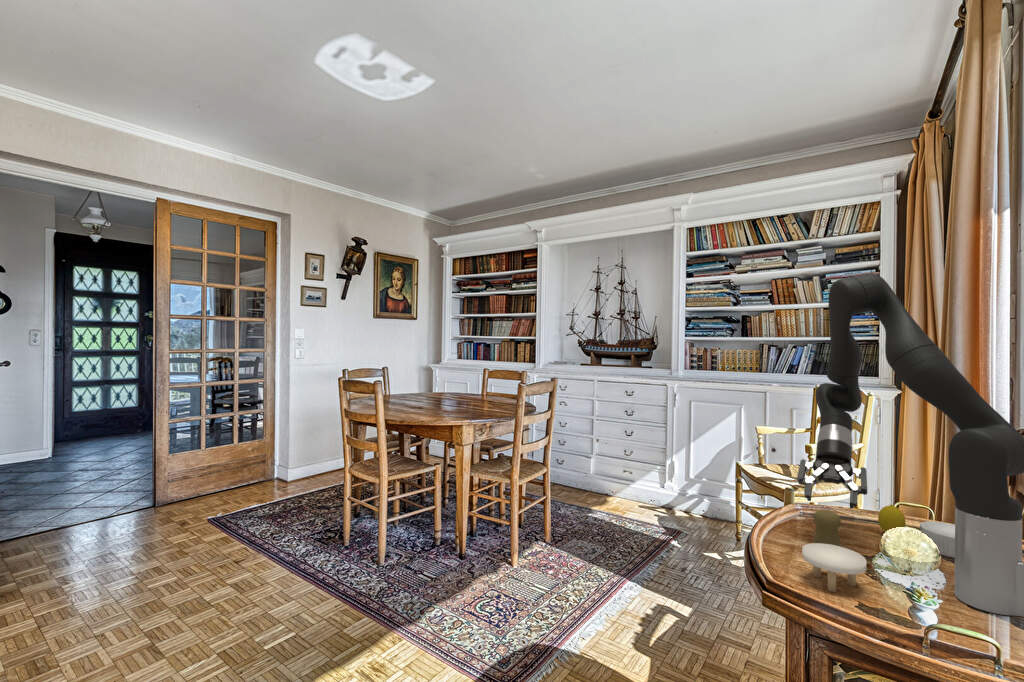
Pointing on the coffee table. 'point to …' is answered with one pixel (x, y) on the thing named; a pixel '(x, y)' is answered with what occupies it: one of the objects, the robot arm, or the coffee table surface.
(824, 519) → the cork
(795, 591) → the coffee table surface
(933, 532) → the ramekin
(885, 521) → the lemon
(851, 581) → the stool
